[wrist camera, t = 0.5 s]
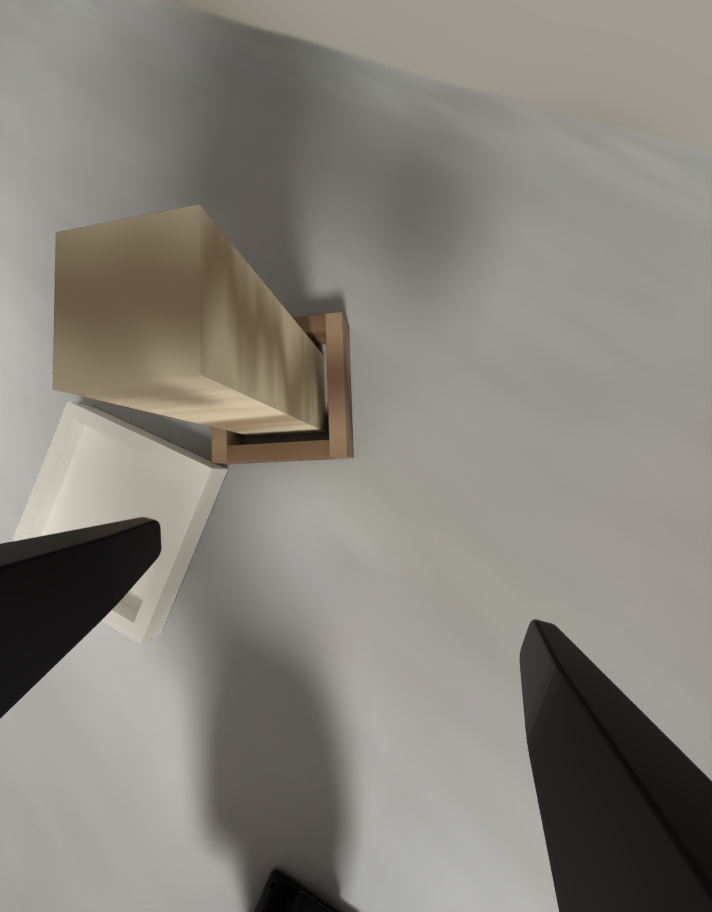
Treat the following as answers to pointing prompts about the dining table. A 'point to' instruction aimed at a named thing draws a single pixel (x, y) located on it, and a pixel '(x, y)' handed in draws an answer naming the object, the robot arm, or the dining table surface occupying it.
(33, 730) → the dining table surface
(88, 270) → the tan wooden block
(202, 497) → the tray
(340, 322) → the walnut collar
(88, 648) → the dining table surface
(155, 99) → the dining table surface
